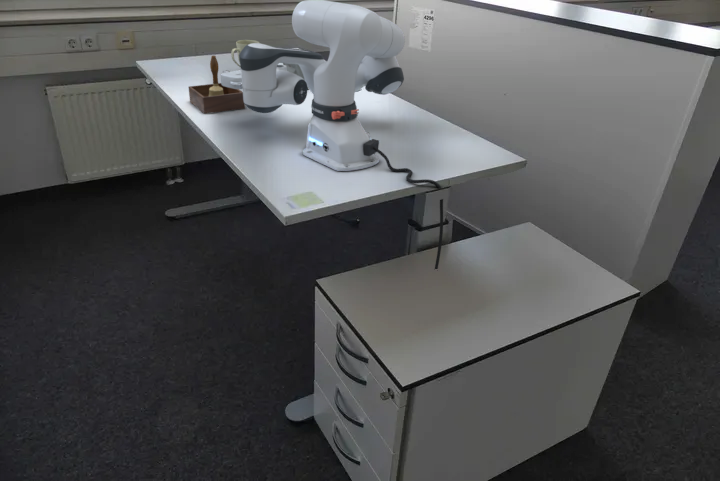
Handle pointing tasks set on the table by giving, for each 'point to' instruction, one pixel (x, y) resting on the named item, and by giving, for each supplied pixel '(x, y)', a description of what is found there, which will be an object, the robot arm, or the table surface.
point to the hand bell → (215, 78)
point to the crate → (216, 99)
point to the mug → (240, 46)
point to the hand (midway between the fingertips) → (236, 71)
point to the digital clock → (294, 69)
